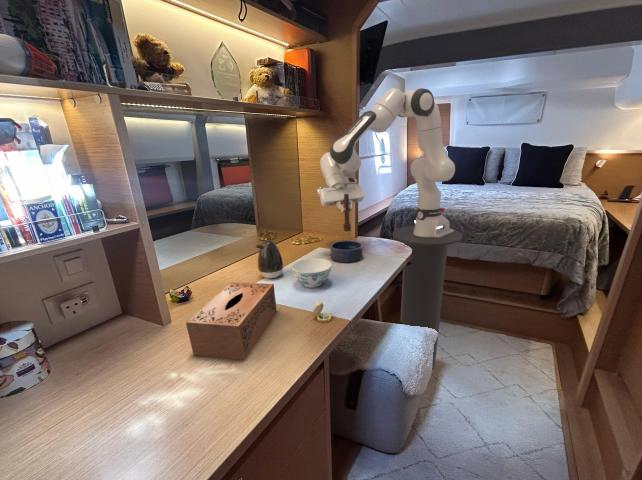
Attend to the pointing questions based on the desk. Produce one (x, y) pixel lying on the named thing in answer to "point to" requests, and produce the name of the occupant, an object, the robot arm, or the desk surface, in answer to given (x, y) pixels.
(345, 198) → the stirring stick
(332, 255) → the bowl
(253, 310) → the tissue box cover
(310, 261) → the chinaware
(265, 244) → the pump dispenser
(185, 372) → the desk surface
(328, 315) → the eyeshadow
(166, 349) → the desk surface
